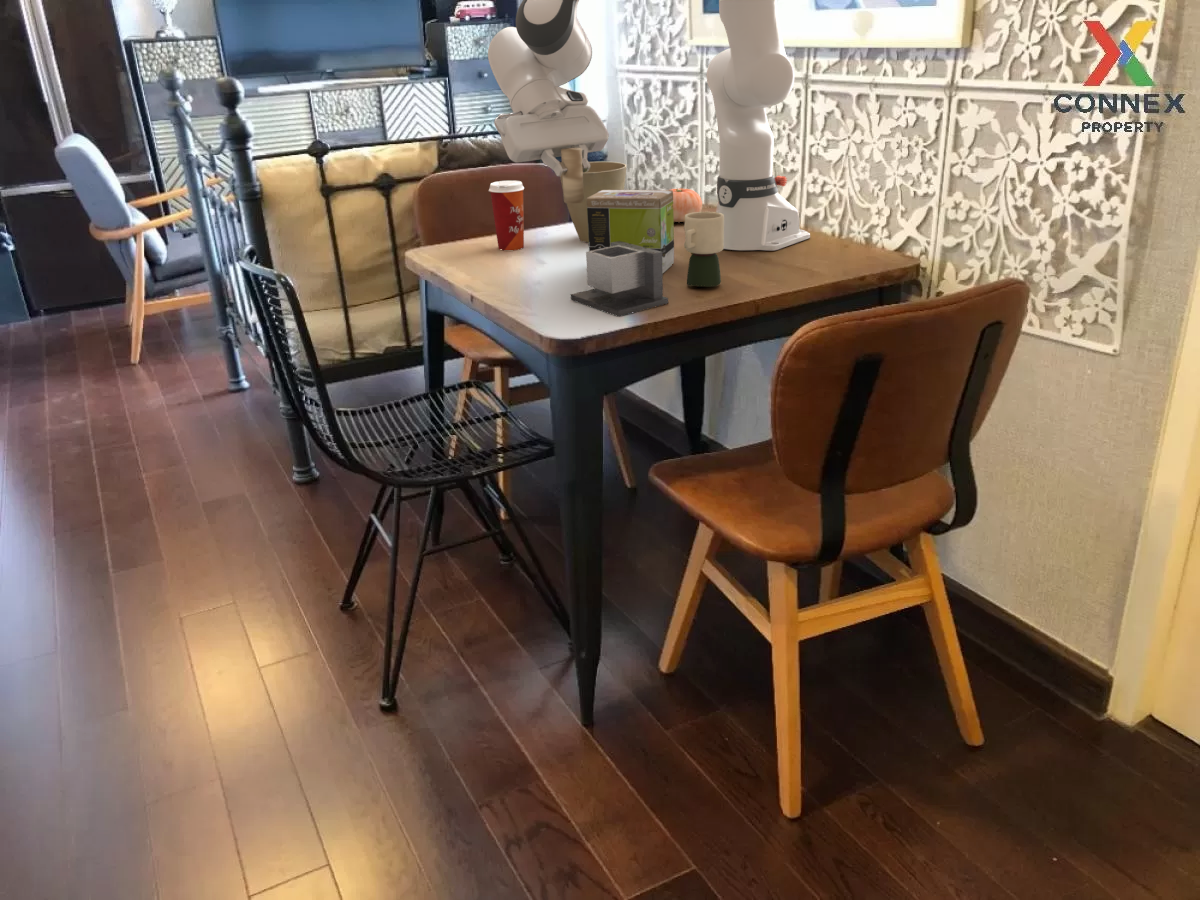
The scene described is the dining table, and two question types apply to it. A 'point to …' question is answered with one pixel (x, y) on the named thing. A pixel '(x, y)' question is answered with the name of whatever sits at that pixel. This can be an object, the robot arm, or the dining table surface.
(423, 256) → the dining table surface
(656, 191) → the tea box
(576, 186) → the tan wooden cylinder
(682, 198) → the orange pumpkin
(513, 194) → the paper cup
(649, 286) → the grey box holder
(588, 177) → the plant pot
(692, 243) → the character mug
